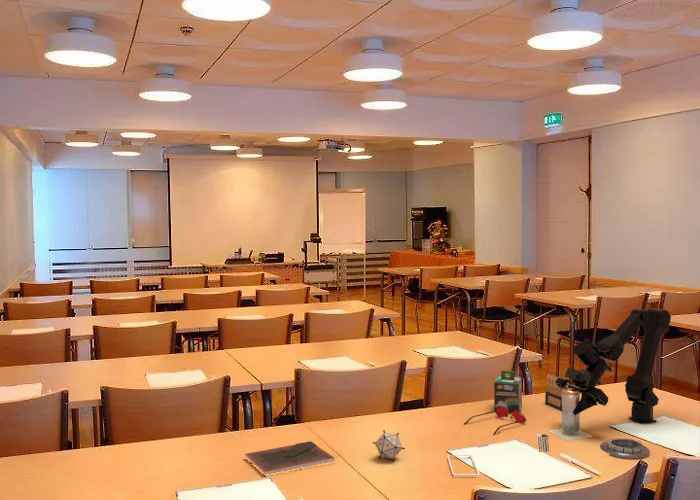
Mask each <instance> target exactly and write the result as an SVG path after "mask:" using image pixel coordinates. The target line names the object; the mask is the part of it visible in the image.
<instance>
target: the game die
mask: <svg viewBox="0 0 700 500" xmlns="http://www.w3.org/2000/svg"><path fill="white" fill-rule="evenodd" d="M382 432H383V433H382V434H381V436H380V437H379V438H377V440H376V441H373V442H371V443H372V444H373V445H374V444H375V447H376V449H377V451H378V455H379V456H378V459H381V458H385V459H390V460H392V462H395V459H396V457H397V456H398V454H399V453H400V452H401V451H402V450H405V449H406V448H405V447H403V445H402V444H401V441H400V439H399V435H400V432H397V433H390V432H386V430H385V429H383V430H382Z"/></svg>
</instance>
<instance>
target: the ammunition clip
mask: <svg viewBox="0 0 700 500" xmlns="http://www.w3.org/2000/svg"><path fill="white" fill-rule="evenodd" d="M558 378H560V377H559V376H556V375H555V374H554V375H553V374H551V375H550V373H549V372H548V373H547V377H546V379H547V380H546V390H545V397H544V398H545V399H544V404H545V406H548V405H549V407H550V406H551V407H550V408H553V409H556V410H558V411H560V412H562V410H561V409H560V405H561V400H562V390H561V389H560V388H559V387H558V386H557V385H556V384H555V382H556V380H557V379H558Z"/></svg>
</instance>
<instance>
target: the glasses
mask: <svg viewBox="0 0 700 500" xmlns="http://www.w3.org/2000/svg"><path fill="white" fill-rule="evenodd" d="M496 408H497V410H496V411H494V410H492V411H489V412H484V413H480V414H477V415H473V416H471V417H470V418H468V419H467V420H466V422H465V423H464V424H463V425H464V426H466V425H467V424H468V423H469V421H470V420H472V419H473V418H475V417H480V416H486V415H488V414H493V413H495V414H496V418H498V419H500V418H507V417H509V413H508V411H509V408H507V407H502V406H498V405H497V407H496ZM506 408H507V409H506ZM510 410H512V409H510ZM513 411H514V412H512V413H510V414H511V415H510V417H509V418H510V419H511V420H513V419H514V420H515V421H514V422H510V423H507V424H502V425H500V426H498V428H496V430H495V431H494V432H493V434H492V436H495V435H496V434H497V432H498V431H499V430H500V429H501V428H503V427H506V426H510V425H513V424H517V423H519V424H523V425H524V424H526V421H528V419H527V418H526V417H525V414H523V413H522V412H521V411H520V412H519V411H517V410H513Z"/></svg>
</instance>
